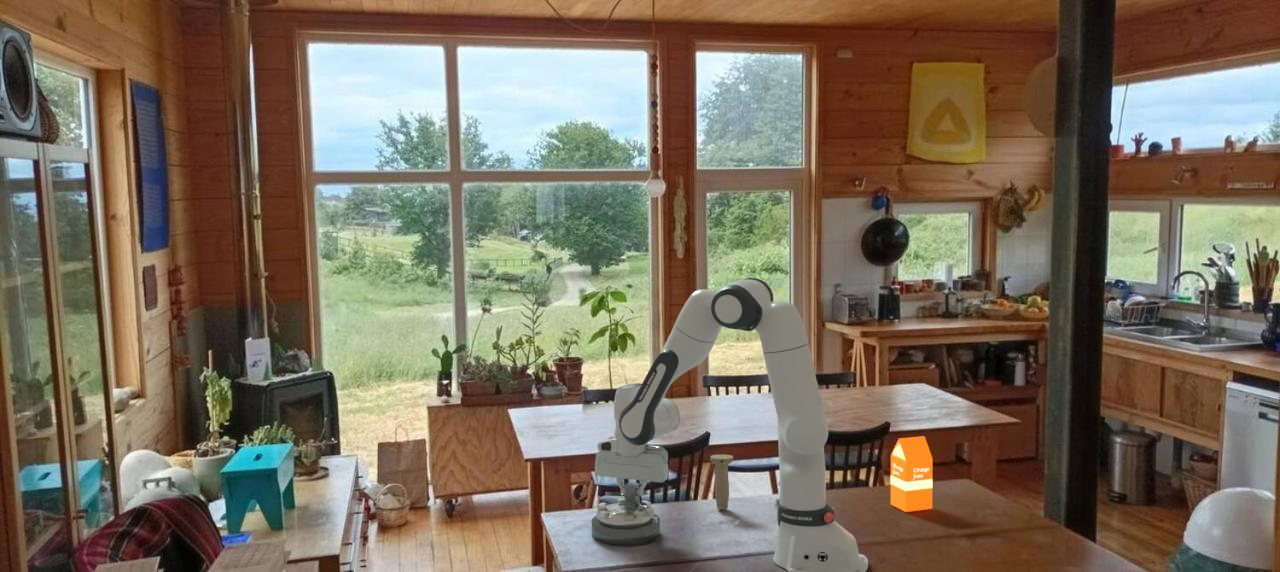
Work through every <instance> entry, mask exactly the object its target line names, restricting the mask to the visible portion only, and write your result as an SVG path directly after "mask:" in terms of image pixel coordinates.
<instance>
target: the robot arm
mask: <svg viewBox="0 0 1280 572" xmlns="http://www.w3.org/2000/svg"><path fill="white" fill-rule="evenodd" d="M722 327H723V328H727V329H729V330H730V329H731V330H739V331H745V332H752V331H756V333H757V334H758V336H759V338H760V339H759V340H760V344H761V348H762V353H763V358H764V363H765V368H766V372H767V378H768V381H769V386H770V391H771V395H772V399H773V403H774V408H775V412H776V417H777V439H778V445H777V446H778V465H779V467H778V468H779V500H780V502H779V503H778V506H777V509H776V510H777V512H776V513H777V526H778V534H777V541H776V547H775V549H774V550H775V551H774V554H773V557H772V560H773V562H774V564H776V565H777V566H779V567H781V568H783V569H785V570H787V572H867V571H868V568H869V561H868V557H867V556H866V555H864V554H862V553H859V547H858V543H857V540H856V538H855V536H854V535H853V534H852V533H851V532H849V531H848V530H847V529H845V528H844V527H843V526H841V525H840V524H839V523H838V522H837V521H836V520H835V506H832V507H831V506H830V505H829V504H828V503H827V498H826V496H827V489H826V488H827V486H826V485H827V482H826V480H827V478H826V477H827V475H826V474H827V472H826V471H827V470H826V463H825V460H826V459H825V445H826V443H827V441H828V437H829V425H828V420H827V416H826V412H825V409H824V404H823V400H822V396H821V391H820V388H819V383H818V380H817V377H816V372H815V368H814V363H813V358H812V352H811V349H810V344H809V341H808V335H807V331H806V328H805V326H804V323H803V320H802V317H801V315H800V313H799V311H798V308H797V307H796V305H794V304H793V303H792V302H788V301H783V300H781V301H774V293H773V290H772V288H771V287H770V285H769V284H768V283H767V282H766V281H764V280H762V279H759V278H755V277H748V278H743V279H739V280H735V281H732V282H730V283H729V284H727V285H724V286H723V287H720V288H719V289H718V290H717V291H716V292H715V291H713V290H711V289H705V288H703V289H701V288H700V289H697V290H695V291H693V292H692V293H691V294H690V295H689V297H688V299H687V300H686V302H685V303H684V305H683V307H682V308H681V310H680V312H679V313H678V316H677V318H676V321H675V322H674V325H673V327H672V329H671V332H670V333H669V335H668V337H667V340H666V341H665V343H664V345H663V347H662V349H661V350H660V351H659V353H658V354H657V357H656V358H655V359H654V362H653V363H652V365H651V367H650V368H649V370H648V372H647V374H646V375H645V378H644V380H643V381H642V383H639V382H636V383H630V384H629V383H628V384H625V385H621V386H620V387H618V388H617V389H616V392H615V395H614V404H613V406H614V407H613V417H614V421H615V429H614V436H610V437H607V438H604V439H603V440H601V441H600V442H598V443H597V450H598V451H597V452H596V455H595V462H594V463H595V464H594V472H595V474H596V476H598V477H606V478H612V479H613V478H615V480H616V483H617V486H618V487H619V488H620V494H621V495H624V496H625V485H626V484H625V482H624V481H625V480H633V481H639V485H640V486H639V488H638V489H636V496H639V497H643V496H644V489H645V487H646V485H647V483H648V482H655V483H663V482H665V481H666V480H668V478H669V472H670V471H669V464H668V461H669V460H668V459H669V453H668V451H667V449H665V448H664V447H663V446H657V445H649V442H651V441H653V440H655V439H658V438H660V437H663V436H666V435H669V434H671V433H672V432H674V431H676V429H677V428H678V427H679V425H680V420H681V419H680V418H681V415H680V410H679V408H678V406H677V404H676V403H675V402H674V400H673V401H672V399H670V398H665V395H666V394H667V392H668V390H669V388H670V387H671V385H672V384H673V383H674V381H676V380H677V379H679V377H680V376H682V375H683V374H685V373H687V372H688V371H690V370H692V369H694V368H695V367H698V366H699V365H701V364H702V363H703V362H704V361H705V360H706V358H707V357H708V356H709V354H710V352H711V351H712V349H713V347H714V345H715V342H716V340H717V338H718V336H719V333H720V331H721V329H722Z"/></svg>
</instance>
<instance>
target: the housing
mask: <svg viewBox="0 0 1280 572" xmlns="http://www.w3.org/2000/svg"><path fill="white" fill-rule="evenodd" d="M660 519H661V518H660V517H659V515H658V514H655V513H654V517H653V522H651V523H650V524H648V525H645V526H641V527H636V528H612V527H607V526H604V525H602V524H600V523H599V522H598V521H597V514H596V515H594V516H593V517H592V518H591V537H592V539H593V540H594V541H596V542H598V543H601V544H604V545H607V546H614V547H625V548H627V547H629V548H630V547H639V546H644V545H648V544H649V545H650V544H651V543H653V542H656V541H657V540H658V539H660V537H661V520H660Z"/></svg>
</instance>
